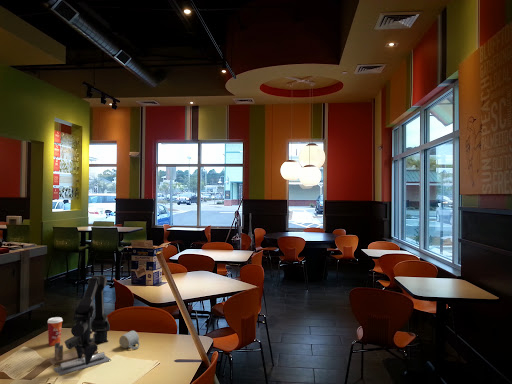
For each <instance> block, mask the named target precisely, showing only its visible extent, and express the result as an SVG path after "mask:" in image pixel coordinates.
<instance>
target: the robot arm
mask: <svg viewBox="0 0 512 384" xmlns="http://www.w3.org/2000/svg"><path fill="white" fill-rule="evenodd" d="M107 283H108V277H107V276H106V275H105V274H104V275H102V274H101V275H97V274H96V275H92V276H91V277H89V278H88V283H87V284H88V285H87V286H86V289H85V292H84V296H83V298H82V299H81V300H79V302H78V304H77V306H76V307H75V311H74V314H73V315H74V316H73V319H72V320H73V321H75V324H73V325H72V327H71V330H70V332H71V335H72V336H71V337H70V338H68V339H66V340H64V345H65V348H66V349H68V350H72V349H73V348H75V350H76V351H77V355H78V359H80V358H81V357H82V354H84V355H85V363H86V365H88V364H89V362H90V360H91V358H92V356H93V354H94V353H95V352H96V351H98V350H99V349H98V345H100V344H102V343H107V342H109V340H108V332H109V331H110V330H111V329H110V328H111V327H110V323H109V320H108V316H107V314H106V313H105V305H104V300H105V299H104V289H105V287H106V286H107ZM94 313H95V314H94ZM93 316H94V318H93ZM92 318H93V319H92ZM110 332H111V331H110ZM91 334H93V336H92V338H94V343H90V342H92V340H91V339H90V338H91ZM89 343H90V344H89Z"/></svg>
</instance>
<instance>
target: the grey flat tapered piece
mask: <svg viewBox="0 0 512 384" xmlns="http://www.w3.org/2000/svg"><path fill="white" fill-rule="evenodd" d="M109 360H111V361H112V359H111V358H110V357H108V356H107V355H105V358H103V359H100V360H96V361H93V362H89V364H88V365H86V364H82V365H79V366H75V367H71V368H68V369H64V370H61V368H60V366H56V367H54V368H53V370H54V371H55V372H56V373H57V374H58V376H63V375H66V374H69V373H74V372H78V371H81V370H84V369H88V368H91V367H94V366H99V365H101V364H104V363H108V362H110V361H109ZM107 361H108V362H107Z"/></svg>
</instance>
